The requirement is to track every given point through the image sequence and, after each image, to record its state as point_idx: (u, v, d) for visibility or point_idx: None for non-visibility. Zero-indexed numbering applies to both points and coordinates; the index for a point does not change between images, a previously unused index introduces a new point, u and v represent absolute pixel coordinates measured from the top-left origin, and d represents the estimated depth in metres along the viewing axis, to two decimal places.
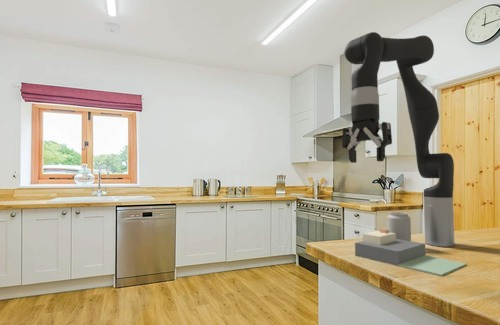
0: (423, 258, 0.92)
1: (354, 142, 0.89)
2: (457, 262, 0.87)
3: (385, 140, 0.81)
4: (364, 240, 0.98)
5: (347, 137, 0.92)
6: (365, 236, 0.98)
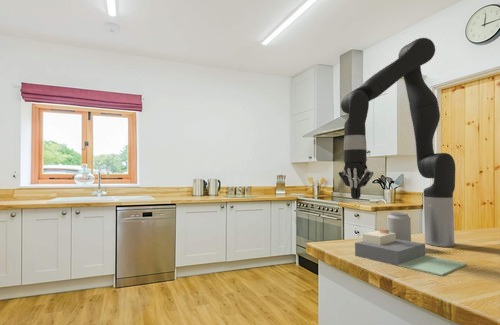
0: (423, 258, 0.92)
1: (352, 180, 1.06)
2: (457, 262, 0.87)
3: (360, 183, 1.04)
4: (364, 240, 0.98)
5: (345, 177, 1.10)
6: (365, 236, 0.98)
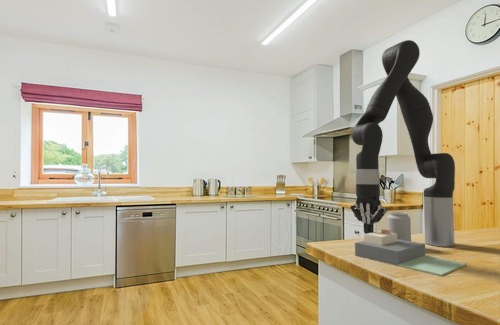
0: (423, 258, 0.92)
1: (365, 215, 1.02)
2: (457, 262, 0.87)
3: (373, 219, 1.00)
4: (365, 240, 0.98)
5: (357, 211, 1.05)
6: (366, 236, 0.98)
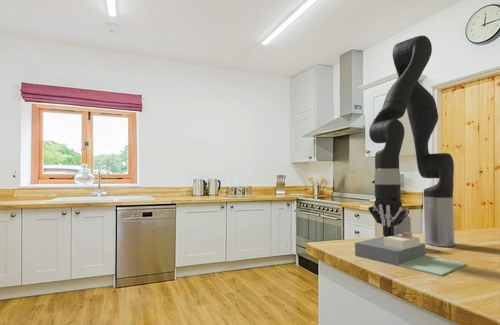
0: (423, 258, 0.92)
1: (384, 217, 0.96)
2: (457, 262, 0.87)
3: (394, 222, 0.94)
4: (385, 244, 0.92)
5: (376, 213, 1.00)
6: (386, 240, 0.92)
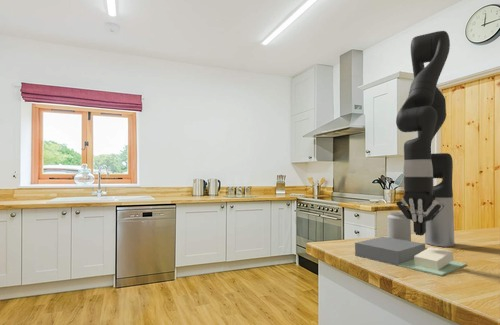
0: None
1: (415, 212, 0.89)
2: (457, 262, 0.87)
3: (427, 217, 0.86)
4: (434, 262, 0.81)
5: (405, 208, 0.92)
6: (433, 266, 0.81)
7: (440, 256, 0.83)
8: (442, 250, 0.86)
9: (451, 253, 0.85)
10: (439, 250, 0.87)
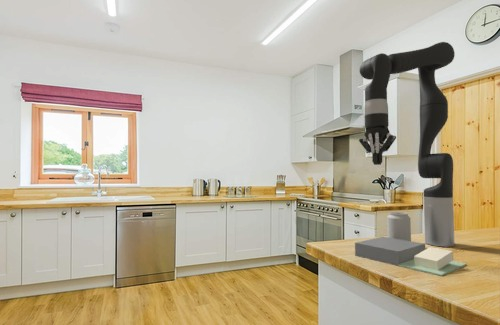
0: None
1: (374, 145, 1.04)
2: (457, 262, 0.87)
3: (382, 148, 1.02)
4: (434, 262, 0.81)
5: (366, 143, 1.08)
6: (433, 266, 0.81)
7: (440, 256, 0.83)
8: (442, 250, 0.86)
9: (451, 253, 0.85)
10: (439, 250, 0.87)
